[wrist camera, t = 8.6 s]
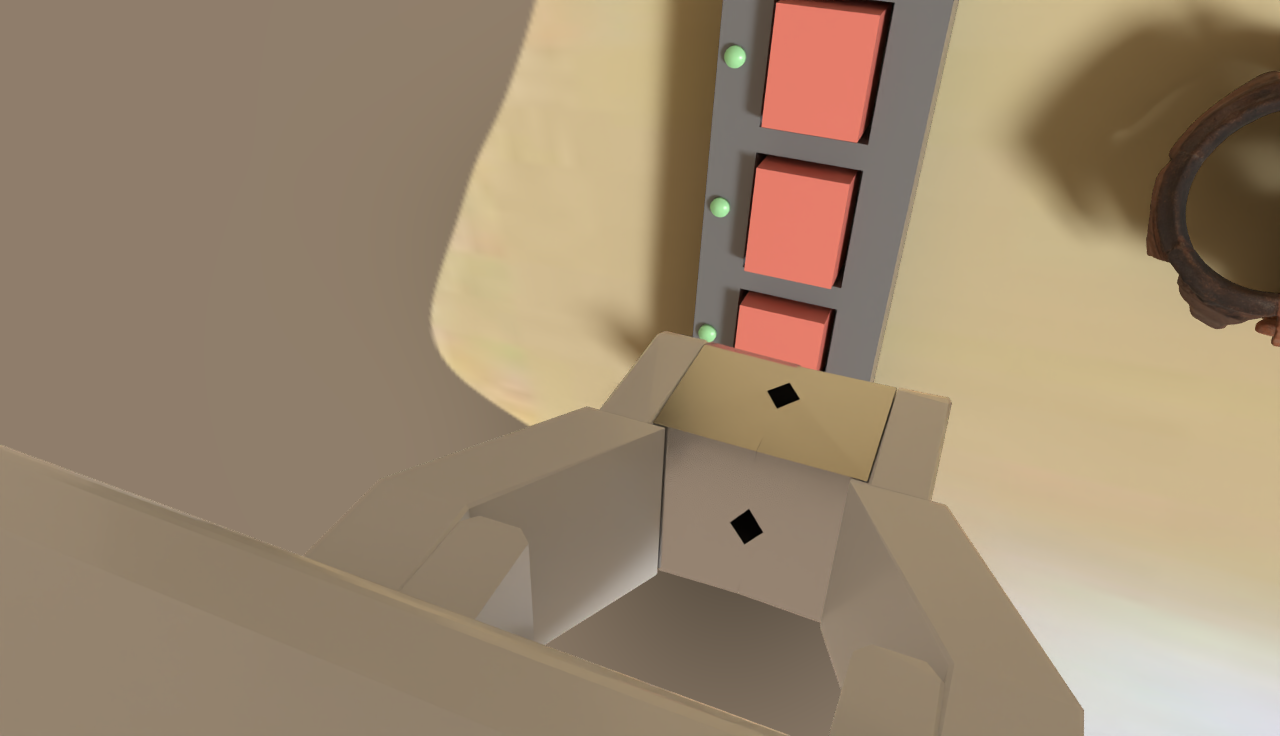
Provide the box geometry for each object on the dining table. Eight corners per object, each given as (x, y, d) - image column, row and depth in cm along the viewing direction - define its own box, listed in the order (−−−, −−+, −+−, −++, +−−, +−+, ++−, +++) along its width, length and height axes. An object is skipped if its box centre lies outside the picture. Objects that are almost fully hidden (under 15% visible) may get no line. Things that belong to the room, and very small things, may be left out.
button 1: (796, -11, 34) (776, 2, 31) (893, 0, 33) (880, 15, 30) (781, 106, 36) (761, 127, 34) (871, 120, 35) (857, 142, 33)
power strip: (764, -197, 32) (739, -197, 29) (1000, -184, 30) (994, -183, 27) (706, 370, 45) (685, 404, 42) (867, 410, 43) (854, 448, 40)
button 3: (759, 276, 40) (739, 304, 38) (838, 293, 39) (824, 323, 37) (748, 359, 43) (729, 391, 40) (823, 377, 42) (808, 411, 39)
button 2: (776, 145, 37) (756, 168, 35) (863, 160, 36) (849, 184, 34) (763, 243, 39) (744, 270, 37) (845, 259, 38) (830, 289, 36)
